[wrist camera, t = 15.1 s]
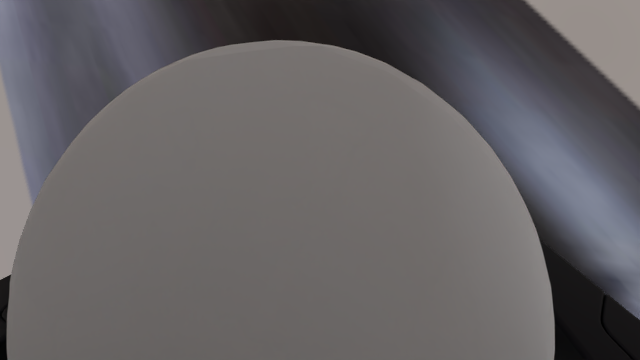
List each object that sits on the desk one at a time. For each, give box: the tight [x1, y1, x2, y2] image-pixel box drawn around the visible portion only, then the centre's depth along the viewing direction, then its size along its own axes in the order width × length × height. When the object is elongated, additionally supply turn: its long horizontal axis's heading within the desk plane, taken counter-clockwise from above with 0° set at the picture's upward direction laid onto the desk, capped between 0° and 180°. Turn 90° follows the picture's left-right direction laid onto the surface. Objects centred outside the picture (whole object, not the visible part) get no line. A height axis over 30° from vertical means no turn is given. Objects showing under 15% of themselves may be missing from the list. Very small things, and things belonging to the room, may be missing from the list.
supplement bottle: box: [7, 40, 555, 360], centre depth 9 cm, size 7×7×13 cm
